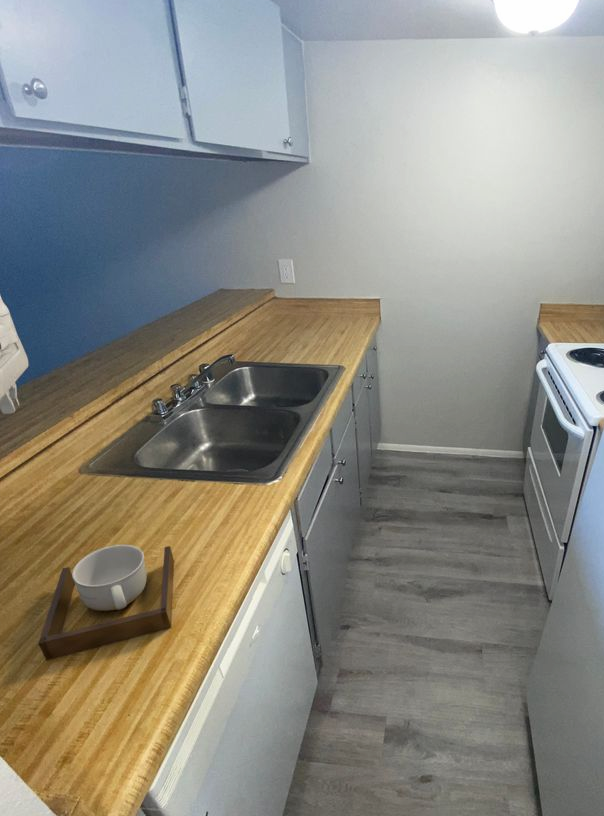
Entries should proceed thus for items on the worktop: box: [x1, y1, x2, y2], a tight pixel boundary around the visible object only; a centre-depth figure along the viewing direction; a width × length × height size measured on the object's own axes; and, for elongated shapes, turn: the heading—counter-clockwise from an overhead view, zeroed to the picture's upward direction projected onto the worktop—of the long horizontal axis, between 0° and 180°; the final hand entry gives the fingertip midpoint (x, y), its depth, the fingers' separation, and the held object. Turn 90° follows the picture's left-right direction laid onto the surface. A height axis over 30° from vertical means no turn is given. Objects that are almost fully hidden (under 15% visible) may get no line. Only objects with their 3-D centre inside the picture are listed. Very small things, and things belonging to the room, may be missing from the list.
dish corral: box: [37, 545, 175, 661], centre depth 84 cm, size 18×17×4 cm
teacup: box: [71, 544, 147, 612], centre depth 83 cm, size 14×11×8 cm
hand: (11, 410), depth 83 cm, fingers closed
